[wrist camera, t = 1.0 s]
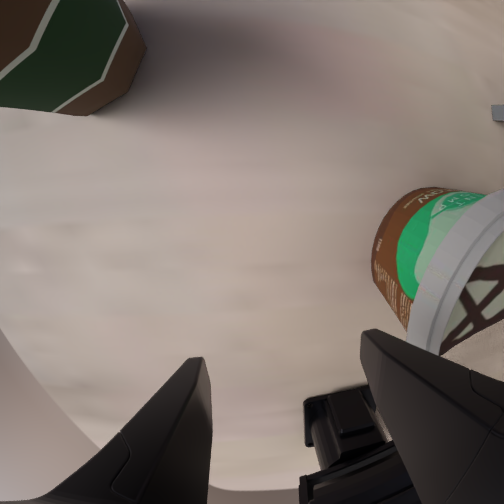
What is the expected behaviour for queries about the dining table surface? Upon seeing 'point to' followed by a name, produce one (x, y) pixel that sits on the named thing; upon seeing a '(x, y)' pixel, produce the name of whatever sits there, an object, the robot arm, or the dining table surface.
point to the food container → (442, 264)
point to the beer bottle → (66, 54)
